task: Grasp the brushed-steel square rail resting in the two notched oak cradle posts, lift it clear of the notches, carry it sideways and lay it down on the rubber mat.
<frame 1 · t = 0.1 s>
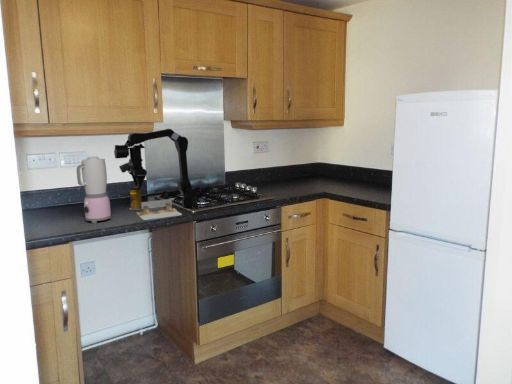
hand: (137, 186, 226), 14 cm above the worktop, fingers open, 9 cm apart
blender: (95, 221, 214), on the worktop
rail: (156, 206, 228), point 3 cm above the worktop, touching rack
mat: (160, 216, 222), on the worktop
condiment: (137, 208, 241), on the worktop
rack: (157, 213, 229), on the worktop
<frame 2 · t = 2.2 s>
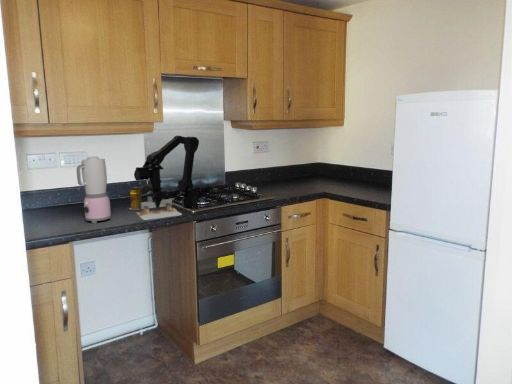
hand: (156, 207, 228), 3 cm above the worktop, fingers closed on rail, 3 cm apart
rail: (156, 206, 228), point 3 cm above the worktop, touching gripper, rack
everything else where it was.
when the fingers open (2 cm above the worktop, at t = 6.1 s): rail drops 2 cm, resting on mat.
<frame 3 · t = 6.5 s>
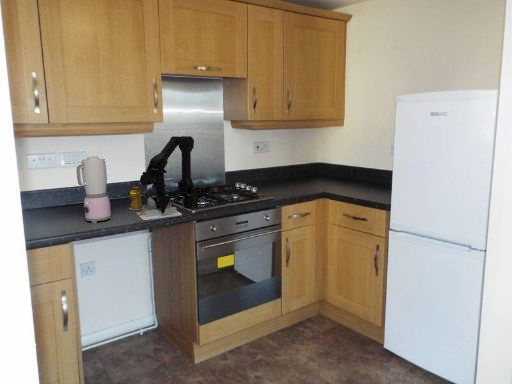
hand: (160, 212, 222), 2 cm above the worktop, fingers open, 7 cm apart
rail: (160, 214, 222), point 1 cm above the worktop, touching mat
everything else where it was.
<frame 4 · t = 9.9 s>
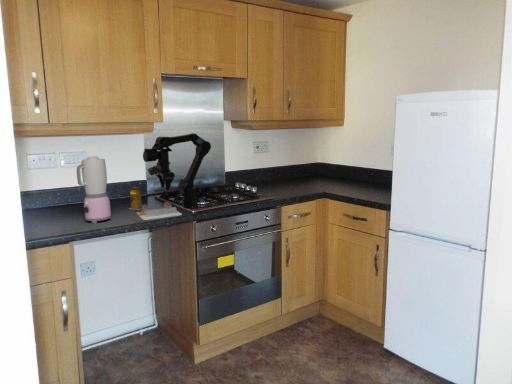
hand: (165, 189, 232), 12 cm above the worktop, fingers open, 9 cm apart
nothing on the worktop moved.
at the end: rail inside the target area on the mat (0.0 cm from its centre), point 0.6 cm above the mat's base; rail touching mat; the gripper is holding nothing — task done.
